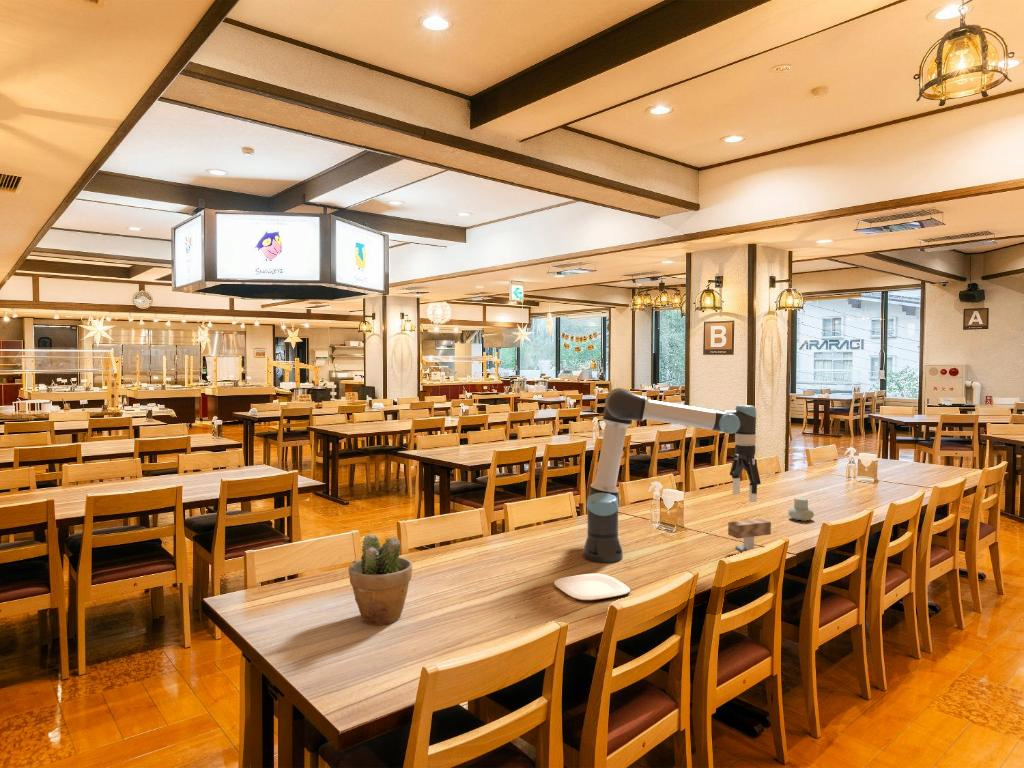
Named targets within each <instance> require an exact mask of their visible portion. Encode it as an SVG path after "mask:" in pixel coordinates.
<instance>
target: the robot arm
mask: <svg viewBox="0 0 1024 768" xmlns="http://www.w3.org/2000/svg"><path fill="white" fill-rule="evenodd" d="M604 405H605V406H604V410H603V416H602V420H603V422H604V424H605V426H604V432H603V437H602V441H601V442H602V443H601V447H600V454H599V457H598V462H597V468H596V475H595V479H594V482H592V483H590V485H589V486H590V487H589V492H588V496H587V498H586V503H585V506H586V511H587V513H586V514H587V537H586V541H585V543H584V546H583V549H582V557H583V558H584V559H586V560H588V561H591V562H595V563H615V562H619V561H621V560H622V559H623V557H624V556H623V555H624V554H623V553H624V552H623V549H622V545H621V542H620V539H619V500H618V498H619V493H620V490H619V488H618V486H617V483H618V479H619V478H618V477H619V472H620V467H621V463H622V457H623V451H624V446H625V440H626V434H627V429H628V428H629V427H630V426H632V424H633V421H639V422H643V421H644V420H649V421H654V422H660V423H667V424H671V425H679V426H684V427H685V426H686V427H690V428H698V429H704V430H710V431H714V432H720V433H724V434H731V435H732V434H734V439H735V441H734V443H735V445H734V454H733V460H732V465H731V468H730V471H729V476H731V478H732V491H731V492H732V495H733V496H734V495H740V494H741V488H740V487H741V473H742V472H743V469H744V471H746V475H747V478H748V480H749V484H748V486H749V487H748V489H749V490H748V491H749V492H748V502H749V503H757V502H758V501H757V499H758V498H757V497H758V486H759V485H761V483H762V481H761V478H760V472H759V469H758V461H757V460H758V459H756V458H753V456H755V455H756V439H757V436H756V426H757V410H756V409H757V408H756V406H754V405H750V404H748V405H746V404H737V405H736V406H735V409H733V410H732V409H729V410H728V409H726V410H724V409H707V408H701V407H696V406H690V405H683V404H677V403H671V402H666V401H659V400H652V399H649V398H648V397H647V396H646V395H640V394H636V393H633V392H631V391H630V390H628V389H626V388H621V387H619V388H618V387H617V388H614V389H612V390H611V391H609V393H608V394H607V395H606V397H605V400H604Z"/></svg>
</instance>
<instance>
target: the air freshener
mask: <svg viewBox="0 0 1024 768" xmlns="http://www.w3.org/2000/svg"><path fill="white" fill-rule="evenodd" d="M793 500H794V501H793V502H794V504H793V506H791V508H789V509H788V516H789V517H790V518H791V519H793V520H796V521H798V520H801V521H800V522H808V521H810V520H812V519H813V518H814V511H813V510H812V509H811V508H809V500H808V498H805V497H794V499H793ZM807 520H808V521H807Z"/></svg>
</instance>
